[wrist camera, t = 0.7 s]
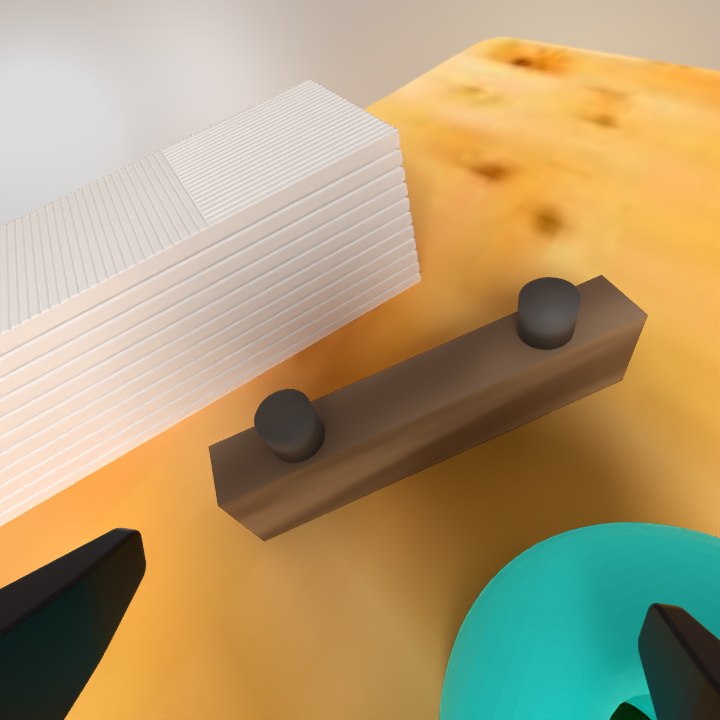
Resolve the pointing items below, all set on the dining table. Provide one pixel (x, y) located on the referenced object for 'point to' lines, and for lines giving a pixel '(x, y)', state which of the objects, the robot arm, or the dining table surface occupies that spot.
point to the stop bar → (425, 406)
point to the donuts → (577, 623)
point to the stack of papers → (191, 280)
